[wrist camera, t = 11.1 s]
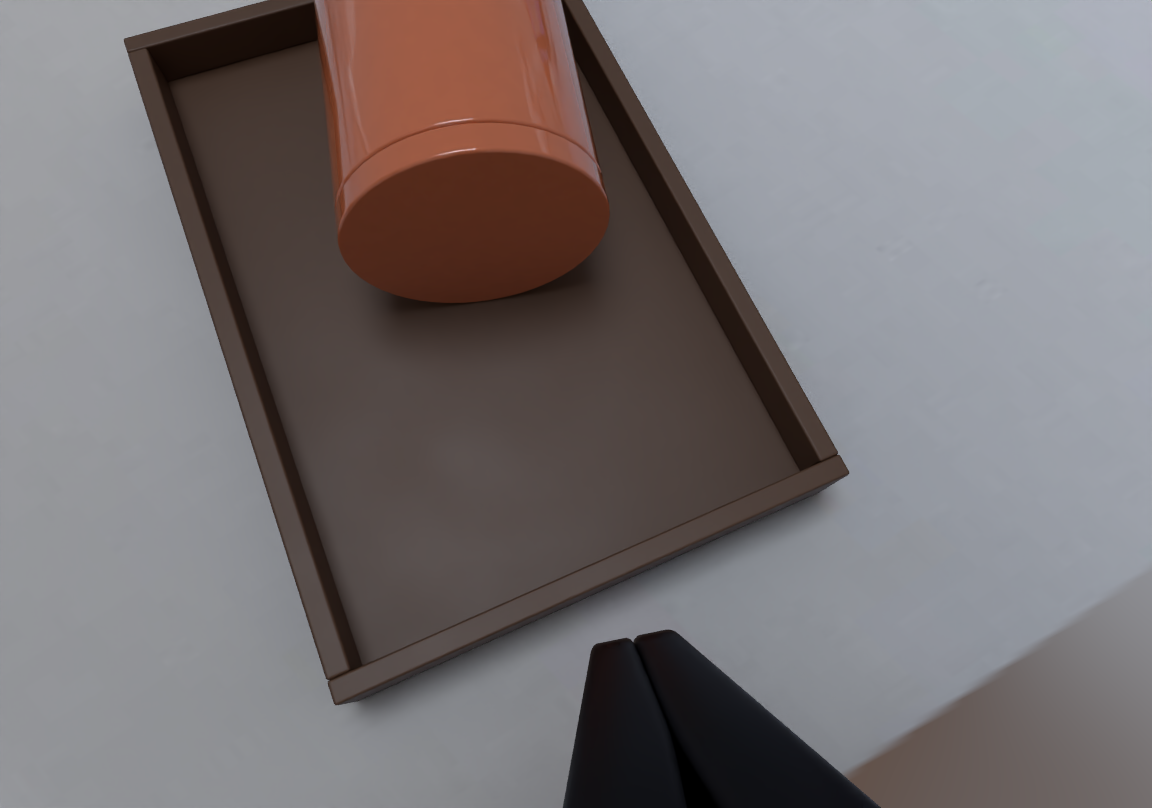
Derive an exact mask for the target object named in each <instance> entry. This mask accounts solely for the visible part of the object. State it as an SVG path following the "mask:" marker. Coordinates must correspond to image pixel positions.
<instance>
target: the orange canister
mask: <svg viewBox="0 0 1152 808" xmlns="http://www.w3.org/2000/svg"><path fill="white" fill-rule="evenodd" d="M314 9H315V19H316V29H317V40H318V50H319V60H320V70H321V81H322V91H323V101H324V111H325V122H326V132H327V142H328V152H329V163H330V173H331V183H332V193H333V204H334V214H335V224H336V234H337V242H338V247H339V251H340V253H341V255H342V257H343V259H344V261H345V263H346V264H347V265H348V266H349V268H350V269H351V270H352V271H353V272H354V273H355V274H356V275H357V276H358V277H359V278H361V279H362V280H364V281H365V282H367V283H368V284H370V285H372V286H374V287H376V288H378V289H380V290H382V291H385V292H387V293H390V294H393V295H396V296H400V297H404V298H408V299H413V300H418V301H426V302H436V303H468V302H479V301H486V300H493V299H498V298H503V297H508V296H512V295H516V294H519V293H523V292H526V291H529V290H532V289H535V288H537V287H540V286H542V285H544V284H547V283H549V282H551V281H553V280H555V279H557V278H559V277H561V276H563V275H564V274H566V273H568V272H569V271H571V270H572V269H574V268H575V267H576V266H578V265H579V264H580V263H582V262H583V261H584V260H585V259H586V258H587V257H588V256H589V255H590V254H591V253H592V252H593V251H594V250H595V249H596V247H597V246H598V245H599V244H600V242H601V240H602V239H603V237H604V235H605V233H606V230H607V227H608V224H609V218H610V205H609V200H608V196H607V191H606V187H605V183H604V180H603V175H602V170H601V166H600V162H599V158H598V153H597V149H596V145H595V141H594V136H593V132H592V128H591V124H590V119H589V115H588V111H587V107H586V103H585V98H584V94H583V90H582V86H581V81H580V77H579V73H578V69H577V64H576V60H575V56H574V52H573V47H572V43H571V39H570V35H569V31H568V26H567V22H566V18H565V14H564V9H563V5H562V1H561V0H314Z"/></svg>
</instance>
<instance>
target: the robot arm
mask: <svg viewBox="0 0 1152 808" xmlns="http://www.w3.org/2000/svg"><path fill="white" fill-rule="evenodd" d="M563 808H881V807H879V806H878V805H877V804H876V803H875V802H874V801H873V800H871V799H870V798H869V797H868V796H867V795H866V794H864V793H863V792H862V791H861V790H860V789H859V788H857V787H856V786H855V785H854V784H853V783H852V782H850V781H849V780H848V779H847V778H846V777H845V776H843V775H842V774H841V773H840V772H839V771H838V770H836V769H835V768H834V767H833V766H832V765H831V764H829V763H828V762H827V761H826V760H825V759H824V758H822V757H821V756H820V755H819V754H818V753H817V752H815V751H814V750H813V749H812V748H811V747H810V746H808V745H807V744H806V743H805V742H804V741H803V740H801V739H800V738H799V737H798V736H797V735H796V734H794V733H793V732H792V731H791V730H790V729H789V728H787V727H786V726H785V725H784V724H783V723H782V722H780V721H779V720H778V719H777V718H776V717H775V716H773V715H772V714H771V713H770V712H769V711H768V710H766V709H765V708H764V707H763V706H762V705H761V704H759V703H758V702H757V701H756V700H755V699H754V698H752V697H751V696H750V695H749V694H748V693H747V692H745V691H744V690H743V689H742V688H741V687H740V686H738V685H737V684H736V683H735V682H734V681H733V680H731V679H730V678H729V677H728V676H727V675H726V674H724V673H723V672H722V671H721V670H720V669H719V668H718V667H716V666H715V665H714V664H713V663H712V662H711V661H709V660H708V659H707V658H706V657H705V656H704V655H702V654H701V653H700V652H699V651H698V650H697V649H695V648H694V647H693V646H692V645H691V644H690V643H688V642H687V641H686V640H685V639H684V638H683V637H681V636H680V635H679V634H678V633H676V632H675V631H672V630H663V631H658V632H653V633H648V634H643V635H639V636H637V637H636V638H635V639H634V642H632V640H631V639H628V638H623V639H618V640H613V641H608V642H603V643H598V644H596V645H594V646H593V648H592V650H591V654H590V660H589V665H588V671H587V677H586V682H585V688H584V693H583V699H582V704H581V710H580V715H579V721H578V726H577V732H576V738H575V743H574V749H573V754H572V760H571V765H570V771H569V776H568V782H567V788H566V793H565V799H564V804H563Z"/></svg>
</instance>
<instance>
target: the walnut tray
mask: <svg viewBox="0 0 1152 808" xmlns="http://www.w3.org/2000/svg"><path fill="white" fill-rule="evenodd" d="M561 1H562V5H563V9H564V14H565V18H566V22H567V26H568V31H569V35H570V39H571V43H572V47H573V52H574V56H575V60H576V64H577V69H578V73H579V77H580V81H581V86H582V90H583V94H584V98H585V103H586V107H587V111H588V115H589V119H590V124H591V128H592V132H593V136H594V141H595V145H596V149H597V153H598V158H599V162H600V166H601V170H602V175H603V180H604V183H605V187H606V191H607V196H608V200H609V205H610V218H609V224H608V227H607V230H606V233H605V235H604V237H603V239H602V240H601V242H600V244H599V245H598V246H597V247H596V249H595V250H594V251H593V252H592V253H591V254H590V255H589V256H588V257H587V258H586V259H585V260H584V261H583V262H582V263H580V264H579V265H578V266H576V267H575V268H574V269H572V270H571V271H569V272H568V273H566V274H564V275H563V276H561V277H559V278H557V279H555V280H553V281H551V282H549V283H547V284H544V285H542V286H540V287H537V288H535V289H532V290H529V291H526V292H523V293H519V294H516V295H512V296H508V297H503V298H498V299H493V300H486V301H479V302H468V303H436V302H426V301H418V300H413V299H408V298H404V297H400V296H396V295H393V294H390V293H387V292H385V291H382V290H380V289H378V288H376V287H374V286H372V285H370V284H368V283H367V282H365V281H364V280H362V279H361V278H359V277H358V276H357V275H356V274H355V273H354V272H353V271H352V270H351V269H350V268H349V266H348V265H347V264H346V263H345V261H344V259H343V257H342V255H341V253H340V251H339V247H338V242H337V234H336V224H335V214H334V204H333V193H332V183H331V173H330V163H329V152H328V142H327V132H326V122H325V111H324V101H323V91H322V81H321V70H320V60H319V50H318V40H317V29H316V19H315V9H314V0H267V1H263V2H259V3H256V4H252V5H248V6H244V7H241V8H237V9H233V10H229V11H226V12H222V13H218V14H214V15H211V16H207V17H203V18H199V19H196V20H192V21H188V22H185V23H181V24H177V25H173V26H170V27H166V28H162V29H158V30H155V31H151V32H147V33H143V34H140V35H136V36H132V37H128V38H125V39H124V43H125V46H126V49H127V52H128V56H129V59H130V62H131V65H132V68H133V71H134V75H135V78H136V81H137V84H138V87H139V90H140V94H141V97H142V100H143V103H144V106H145V109H146V112H147V116H148V119H149V122H150V125H151V128H152V131H153V134H154V138H155V141H156V144H157V147H158V150H159V153H160V157H161V160H162V163H163V166H164V169H165V172H166V175H167V179H168V182H169V185H170V188H171V191H172V194H173V198H174V201H175V204H176V207H177V210H178V213H179V216H180V220H181V223H182V226H183V229H184V232H185V235H186V238H187V242H188V245H189V248H190V251H191V254H192V257H193V261H194V264H195V267H196V270H197V273H198V276H199V279H200V283H201V286H202V289H203V292H204V295H205V298H206V301H207V305H208V308H209V311H210V314H211V317H212V320H213V324H214V327H215V330H216V333H217V336H218V339H219V342H220V346H221V349H222V352H223V355H224V358H225V361H226V365H227V368H228V371H229V374H230V377H231V380H232V383H233V387H234V390H235V393H236V396H237V399H238V402H239V405H240V409H241V412H242V415H243V418H244V421H245V424H246V428H247V431H248V434H249V437H250V440H251V443H252V446H253V450H254V453H255V456H256V459H257V462H258V465H259V468H260V472H261V475H262V478H263V481H264V484H265V487H266V491H267V494H268V497H269V500H270V503H271V506H272V509H273V513H274V516H275V519H276V522H277V525H278V528H279V532H280V535H281V538H282V541H283V544H284V547H285V550H286V554H287V557H288V560H289V563H290V566H291V569H292V572H293V576H294V579H295V582H296V585H297V588H298V591H299V595H300V598H301V601H302V604H303V607H304V610H305V613H306V617H307V620H308V623H309V626H310V629H311V632H312V635H313V639H314V642H315V645H316V648H317V651H318V654H319V658H320V661H321V664H322V667H323V670H324V673H325V676H326V679H327V680H329V681H328V686H329V689H330V692H331V695H332V699H333V702H334V704H335V705H341V704H346V703H350V702H355V701H359V700H361V699H363V698H366V697H368V696H370V695H372V694H375V693H377V692H379V691H381V690H383V689H386V688H388V687H390V686H392V685H394V684H397V683H399V682H401V681H403V680H405V679H408V678H410V677H412V676H414V675H416V674H419V673H421V672H423V671H425V670H428V669H430V668H432V667H434V666H436V665H439V664H441V663H443V662H445V661H447V660H450V659H452V658H454V657H456V656H458V655H461V654H463V653H465V652H467V651H470V650H472V649H474V648H476V647H478V646H481V645H483V644H485V643H487V642H489V641H492V640H494V639H496V638H498V637H500V636H503V635H505V634H507V633H509V632H511V631H514V630H516V629H518V628H520V627H523V626H525V625H527V624H529V623H531V622H534V621H536V620H538V619H540V618H542V617H545V616H547V615H549V614H551V613H553V612H556V611H558V610H560V609H562V608H565V607H567V606H569V605H571V604H573V603H576V602H578V601H580V600H582V599H584V598H587V597H589V596H591V595H593V594H595V593H598V592H600V591H602V590H604V589H606V588H609V587H611V586H613V585H615V584H618V583H620V582H622V581H624V580H626V579H629V578H631V577H633V576H635V575H637V574H640V573H642V572H644V571H646V570H648V569H651V568H653V567H655V566H657V565H660V564H662V563H664V562H666V561H668V560H671V559H673V558H675V557H677V556H679V555H682V554H684V553H686V552H688V551H690V550H693V549H695V548H697V547H699V546H701V545H704V544H706V543H708V542H710V541H713V540H715V539H717V538H719V537H721V536H724V535H726V534H728V533H730V532H732V531H735V530H737V529H739V528H741V527H743V526H746V525H748V524H750V523H752V522H755V521H757V520H759V519H761V518H763V517H766V516H768V515H770V514H772V513H774V512H777V511H779V510H781V509H783V508H785V507H788V506H790V505H792V504H794V503H796V502H799V501H801V500H803V499H805V498H808V497H810V496H812V495H814V494H816V493H819V492H820V491H822V490H824V489H825V488H827V487H829V486H830V485H832V484H834V483H835V482H837V481H839V480H840V479H842V478H844V477H845V476H847V475H848V474H849V471H848V469H847V467H846V465H845V464H844V462H843V460H842V458H841V457H840V455H837V454H838V451H837V450H836V448H835V446H834V444H833V443H832V441H831V439H830V437H829V435H828V434H827V432H826V430H825V428H824V427H823V425H822V423H821V421H820V420H819V418H818V416H817V414H816V412H815V411H814V409H813V407H812V405H811V404H810V402H809V400H808V398H807V397H806V395H805V393H804V391H803V390H802V388H801V386H800V384H799V382H798V381H797V379H796V377H795V375H794V374H793V372H792V370H791V368H790V367H789V365H788V363H787V361H786V359H785V358H784V356H783V354H782V352H781V351H780V349H779V347H778V345H777V344H776V342H775V340H774V338H773V336H772V335H771V333H770V331H769V329H768V328H767V326H766V324H765V322H764V321H763V319H762V317H761V315H760V314H759V312H758V310H757V308H756V306H755V305H754V303H753V301H752V299H751V298H750V296H749V294H748V292H747V291H746V289H745V287H744V285H743V283H742V282H741V280H740V278H739V276H738V275H737V273H736V271H735V269H734V268H733V266H732V264H731V262H730V261H729V259H728V257H727V255H726V253H725V252H724V250H723V248H722V246H721V245H720V243H719V241H718V239H717V238H716V236H715V234H714V232H713V230H712V229H711V227H710V225H709V223H708V222H707V220H706V218H705V216H704V215H703V213H702V211H701V209H700V207H699V206H698V204H697V202H696V200H695V199H694V197H693V195H692V193H691V192H690V190H689V188H688V186H687V185H686V183H685V181H684V179H683V177H682V176H681V174H680V172H679V170H678V169H677V167H676V165H675V163H674V162H673V160H672V158H671V156H670V154H669V153H668V151H667V149H666V147H665V146H664V144H663V142H662V140H661V139H660V137H659V135H658V133H657V132H656V130H655V128H654V126H653V124H652V123H651V121H650V119H649V117H648V116H647V114H646V112H645V110H644V109H643V107H642V105H641V103H640V101H639V100H638V98H637V96H636V94H635V93H634V91H633V89H632V87H631V86H630V84H629V82H628V80H627V79H626V77H625V75H624V73H623V71H622V70H621V68H620V66H619V64H618V63H617V61H616V59H615V57H614V56H613V54H612V52H611V50H610V48H609V47H608V45H607V43H606V41H605V40H604V38H603V36H602V34H601V33H600V31H599V29H598V27H597V25H596V24H595V22H594V20H593V18H592V17H591V15H590V13H589V11H588V10H587V8H586V6H585V4H584V3H583V1H582V0H561Z"/></svg>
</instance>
